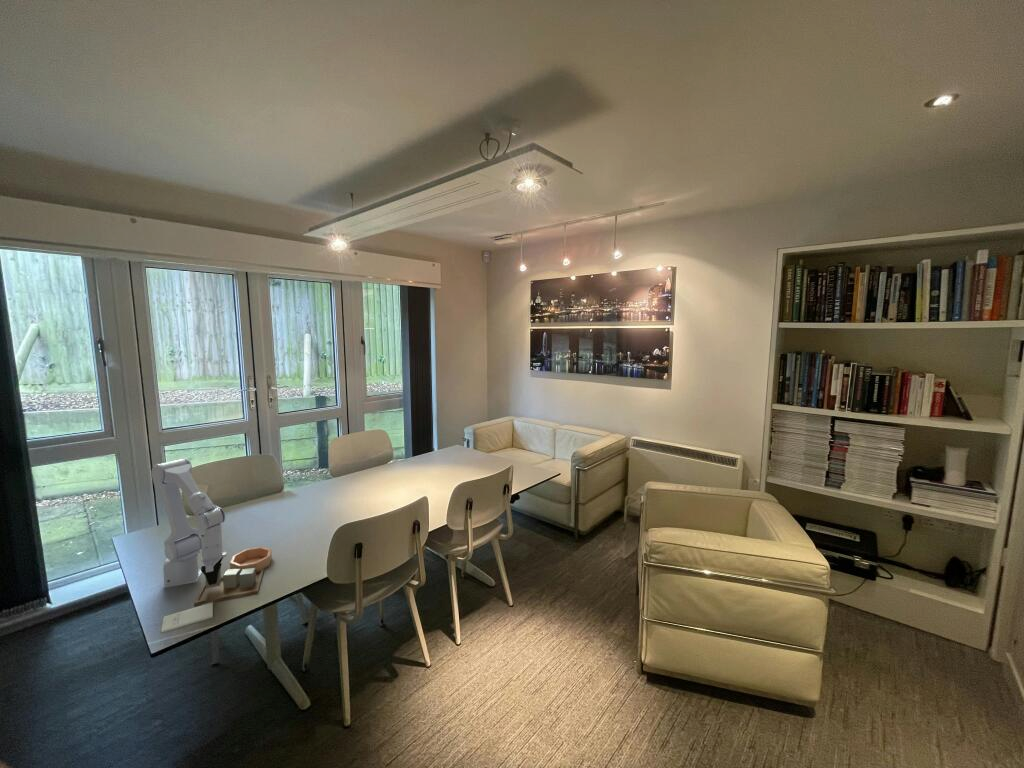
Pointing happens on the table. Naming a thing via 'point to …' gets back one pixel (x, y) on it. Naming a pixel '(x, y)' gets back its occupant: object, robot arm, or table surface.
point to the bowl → (251, 559)
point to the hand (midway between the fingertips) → (213, 580)
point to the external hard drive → (187, 617)
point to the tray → (227, 591)
